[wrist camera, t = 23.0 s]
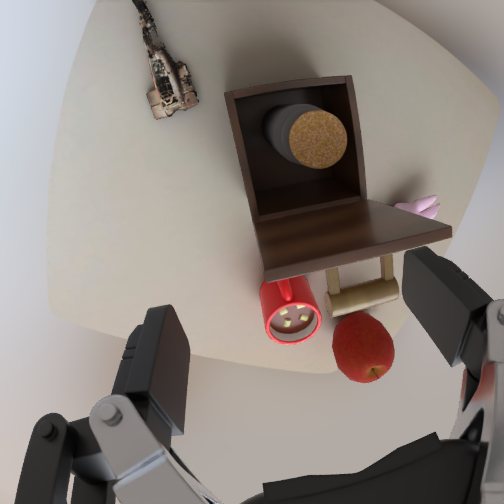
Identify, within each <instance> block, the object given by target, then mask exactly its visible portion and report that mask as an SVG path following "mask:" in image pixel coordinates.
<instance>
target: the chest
mask: <svg viewBox="0 0 504 504" xmlns="http://www.w3.org/2000/svg"><path fill="white" fill-rule="evenodd" d="M224 96H225V100H226V105H227V109H228V113H229V118H230V122H231V127H232V131H233V135H234V140H235V144H236V149H237V153H238V158H239V162H240V167H241V171H242V175H243V180H244V184H245V189H246V193H247V198H248V202H249V207H250V211H251V216H252V221H253V223H256V222H260V221H265V220H269V219H274V218H279V217H283V216H288V215H293V214H298V213H303V212H307V211H312V210H317V209H322V208H327V207H332V206H337V205H342V204H347V203H352V202H358V201H363V200H367V191H366V177H365V166H364V156H363V147H362V138H361V130H360V123H359V116H358V109H357V103H356V96H355V90H354V85H353V79H352V75H347V76H332V77H321V78H311V79H302V80H294V81H286V82H280V83H273V84H267V85H261V86H255V87H250V88H245V89H239V90H235V91H233V92H232V91H230V92H225V93H224ZM285 104H309V105H313V106H316V107H318V108H320V109H321V110H324V111H326V112H329V113H331V114H333V115H334V116H336V117H337V118H338V119H339V120H340V121H341V123H342V124H343V126H344V128H345V131H346V134H347V145H346V149H345V152H344V154H343V155H342V157H341V158H340V159H339V160H338V161H337V162H336V163H335V164H333V165H332V166H329V167H327V168H322V169H315V168H310V167H308V166H304V165H301V164H297V163H293V162H291V161H289V160H287V159H286V158H285V157H283V156H282V155H281V154H280V153H279V152H277V151H276V150H275V149H274V148H273V147H272V146H271V145H270V144H269V143H268V142H267V141H266V139H265V138H264V136H263V133H262V121H263V118H264V116H265V114H266V113H267V112H268V111H269V110H270V109H272V108H273V107H275V106H279V105H285Z"/></svg>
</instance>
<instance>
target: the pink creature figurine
mask: <svg viewBox="0 0 504 504" xmlns="http://www.w3.org/2000/svg"><path fill="white" fill-rule="evenodd" d="M437 198H438V196H437V195H432V196H428V197H424V198H420V199H417V200H416V201H414V202H413V203H397V204H395V206H394V207H395V208H399V209H402V210H405V211H408V212H411V213H414V214H417V215H420V216H423V217H426V218H429V219H433V218H434V217H435V216H436V214H437V212H438V210H439V207H440V203H438V204H436V205H434V206H432V207H430V208H427V207H428V206H430V205H431V204H432V203H433V202H434V201H435V200H436V199H437ZM425 208H427V209H425ZM424 209H425V210H424ZM421 210H423V211H421ZM420 211H421V212H420Z"/></svg>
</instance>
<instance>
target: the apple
mask: <svg viewBox="0 0 504 504" xmlns="http://www.w3.org/2000/svg"><path fill="white" fill-rule="evenodd" d="M332 348H333V352H334V356H335V359H336V363H337V366H338V368H339V369H340V370H341V371H342V372H343V373H344V374H345V375H346V376H347V377H348V378H349V379H350V380H353V381H356V382H361V383H369V382H372V381H375V380H377V379H379V378H380V377H381V376H382V375H384V374H385V373H386V372H387V371H388V370H389V369H390V367H391V366H392V363H393V360H394V345H393V340H392V338H391V336H390V334H389V333H388V331H387V330H386V329H385V327H384V326H383V325H382V323H381V322H380V321H378V320H377V319H375V318H373V317H372V316H370V315H369V314H367V313H365V312H354V313H351V314H349V315H347V316H346V317H345V318H344V319H342V320H341V321H340V322H339V323H338V325H337V326H336V328H335V330H334V334H333V344H332Z"/></svg>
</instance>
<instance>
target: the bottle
mask: <svg viewBox="0 0 504 504" xmlns="http://www.w3.org/2000/svg"><path fill="white" fill-rule="evenodd" d="M262 133H263V136H264V138H265V139H266V141H267V142H268V143H269V144H270V145H271V146H272V147H273V148H274V149H275V150H276V151H277V152H279V153H280V154H281V155H282V156H283V157H285V158H286V159H287V160H289V161H291V162H293V163H297V164H301V165H304V166H308V167H310V168H315V169H322V168H327V167H329V166H332V165H333V164H335V163H336V162H337V161H338V160H339V159H340V158H341V157H342V155H343V154H344V152H345V149H346V145H347V134H346V131H345V128H344V126H343V124H342V123H341V121H340V120H339V119H338V118H337V117H336V116H334V115H333V114H331V113H329V112H326V111H324V110H321V109H320V108H318V107H316V106H313V105H309V104H285V105H279V106H275V107H273V108H272V109H270V110H269V111H268V112H267V113H266V114H265V116H264V118H263V121H262Z"/></svg>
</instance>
